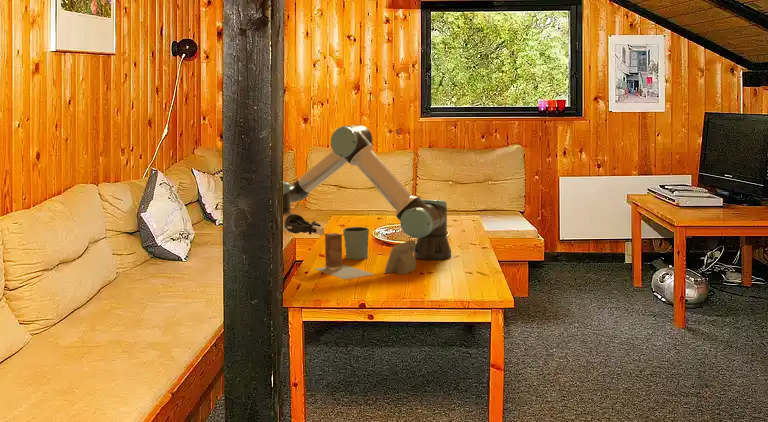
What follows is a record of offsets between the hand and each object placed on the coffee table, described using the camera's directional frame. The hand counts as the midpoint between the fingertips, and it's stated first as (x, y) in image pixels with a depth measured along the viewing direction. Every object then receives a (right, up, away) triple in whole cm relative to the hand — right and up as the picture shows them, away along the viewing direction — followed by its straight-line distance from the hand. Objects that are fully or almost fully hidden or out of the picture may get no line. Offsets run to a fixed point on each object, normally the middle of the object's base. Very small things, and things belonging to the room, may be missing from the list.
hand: (322, 231), depth 309 cm
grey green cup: (+13, -11, +15) cm, 23 cm away
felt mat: (+9, -15, -10) cm, 20 cm away
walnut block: (+5, -14, -4) cm, 15 cm away
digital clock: (+30, -15, -8) cm, 34 cm away
